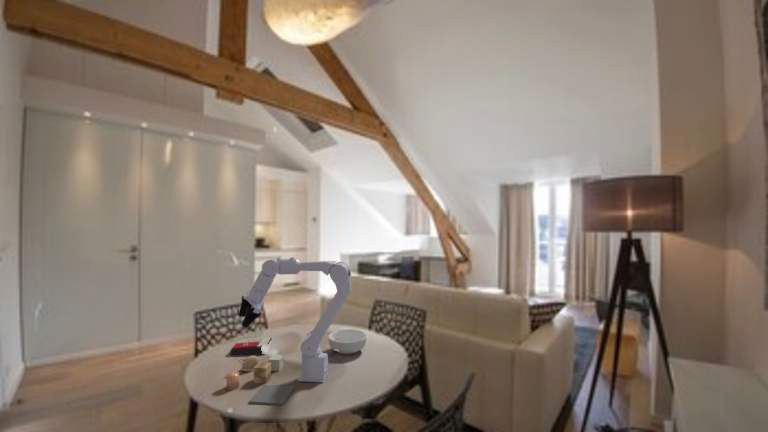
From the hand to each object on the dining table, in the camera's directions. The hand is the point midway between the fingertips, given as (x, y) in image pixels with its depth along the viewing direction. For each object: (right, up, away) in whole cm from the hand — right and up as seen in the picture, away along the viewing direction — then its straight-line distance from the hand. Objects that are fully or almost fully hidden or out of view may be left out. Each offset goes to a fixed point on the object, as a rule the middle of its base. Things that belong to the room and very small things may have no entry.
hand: (242, 321), depth 127 cm
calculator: (-7, -21, +26) cm, 35 cm away
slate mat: (+15, -21, -13) cm, 29 cm away
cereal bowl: (+36, -21, +26) cm, 49 cm away
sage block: (+10, -21, +8) cm, 24 cm away
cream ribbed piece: (0, -21, +7) cm, 22 cm away
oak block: (+8, -21, -2) cm, 22 cm away
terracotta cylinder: (0, -21, -8) cm, 22 cm away
